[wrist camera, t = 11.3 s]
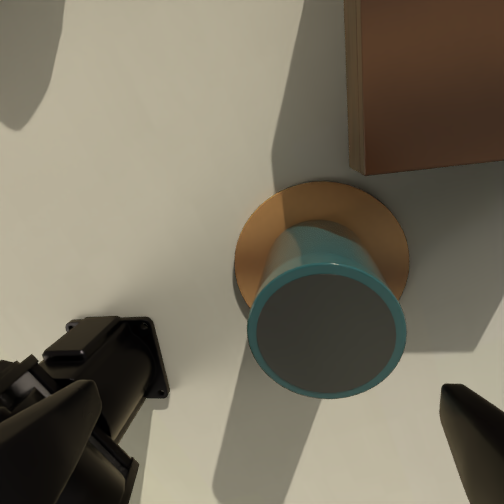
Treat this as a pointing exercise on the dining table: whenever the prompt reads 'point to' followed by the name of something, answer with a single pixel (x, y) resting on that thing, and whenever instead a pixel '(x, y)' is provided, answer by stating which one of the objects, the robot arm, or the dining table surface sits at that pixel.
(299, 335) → the cup
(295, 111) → the dining table surface
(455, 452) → the robot arm
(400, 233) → the coaster
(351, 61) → the shelf
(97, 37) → the dining table surface
